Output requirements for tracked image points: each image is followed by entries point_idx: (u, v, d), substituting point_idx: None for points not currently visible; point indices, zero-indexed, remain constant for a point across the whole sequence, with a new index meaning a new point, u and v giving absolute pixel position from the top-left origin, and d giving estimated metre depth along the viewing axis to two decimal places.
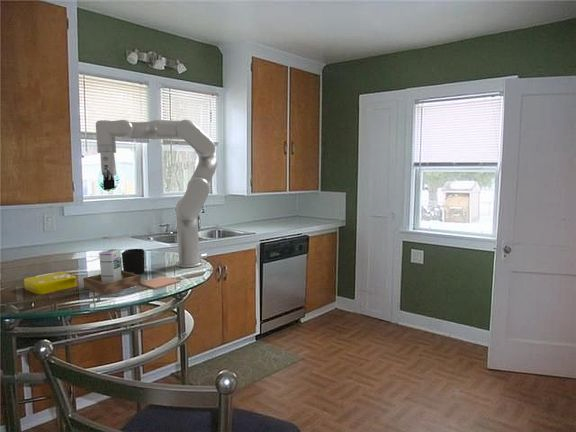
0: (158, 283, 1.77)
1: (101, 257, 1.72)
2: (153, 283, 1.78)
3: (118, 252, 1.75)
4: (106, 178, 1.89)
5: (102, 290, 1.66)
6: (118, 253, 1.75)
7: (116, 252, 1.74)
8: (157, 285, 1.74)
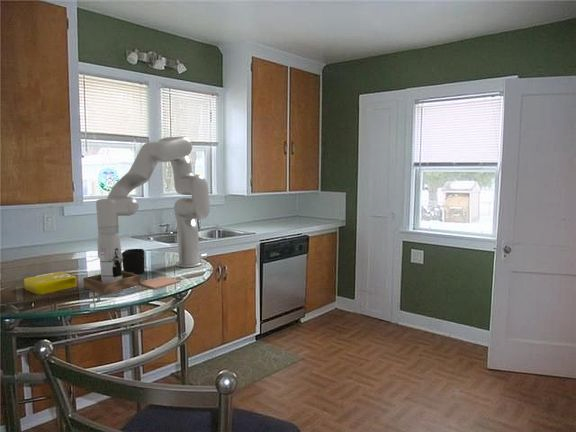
0: (158, 283, 1.77)
1: (101, 257, 1.72)
2: (153, 283, 1.78)
3: None
4: None
5: (102, 290, 1.66)
6: None
7: None
8: (157, 285, 1.74)
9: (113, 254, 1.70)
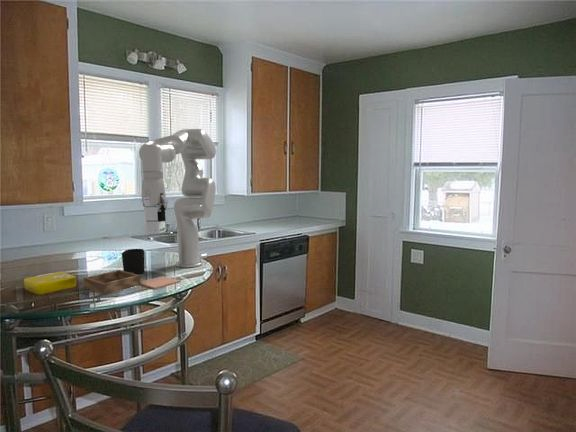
0: (158, 283, 1.77)
1: (146, 202, 1.73)
2: (153, 283, 1.78)
3: None
4: None
5: (102, 290, 1.66)
6: None
7: None
8: (157, 285, 1.74)
9: (158, 198, 1.71)
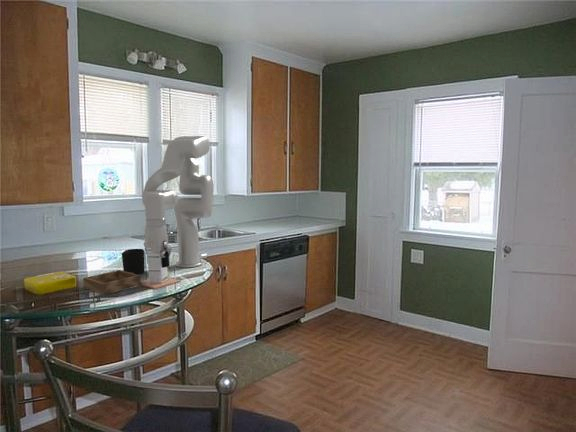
0: (158, 283, 1.77)
1: (149, 252, 1.76)
2: (153, 283, 1.78)
3: None
4: None
5: (102, 290, 1.66)
6: None
7: None
8: (157, 285, 1.74)
9: (161, 246, 1.74)
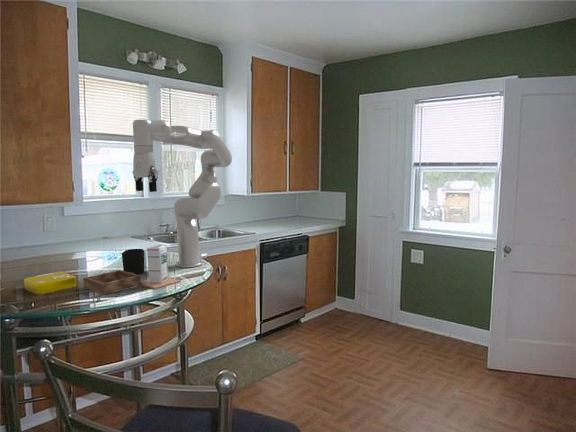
0: (158, 283, 1.77)
1: (149, 252, 1.76)
2: (153, 283, 1.78)
3: (164, 247, 1.79)
4: None
5: (102, 290, 1.66)
6: (164, 248, 1.79)
7: (163, 247, 1.78)
8: (157, 285, 1.74)
9: (149, 171, 1.82)
